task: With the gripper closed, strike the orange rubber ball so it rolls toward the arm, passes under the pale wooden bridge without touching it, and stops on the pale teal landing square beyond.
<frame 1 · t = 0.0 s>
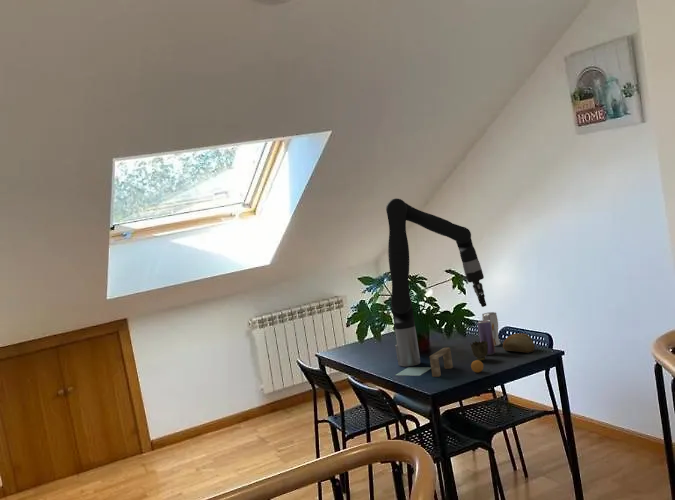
hand: (483, 304, 325), 22 cm above the table, tool pointing down, fingers open, 8 cm apart
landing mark: (413, 371, 316), on the table
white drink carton: (493, 345, 343), on the table
beverage can: (488, 354, 327), on the table
ball: (477, 366, 299), on the table
bridge: (442, 371, 308), on the table
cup: (481, 360, 317), on the table
bread roll: (519, 352, 323), on the table
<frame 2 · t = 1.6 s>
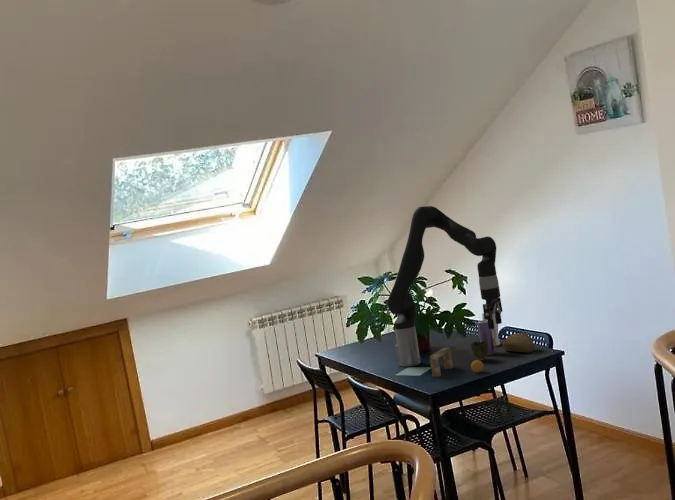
hand: (495, 326, 294), 19 cm above the table, tool pointing down, fingers open, 8 cm apart
nothing on the table moved.
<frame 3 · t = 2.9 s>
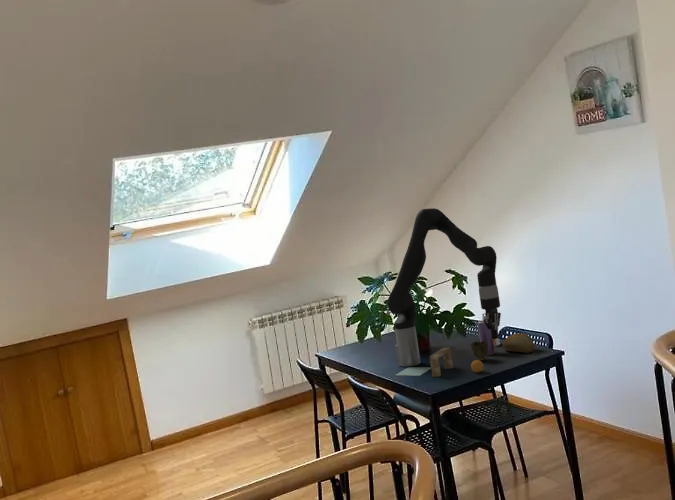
hand: (495, 338, 293), 14 cm above the table, tool pointing down, fingers closed
nothing on the table moved.
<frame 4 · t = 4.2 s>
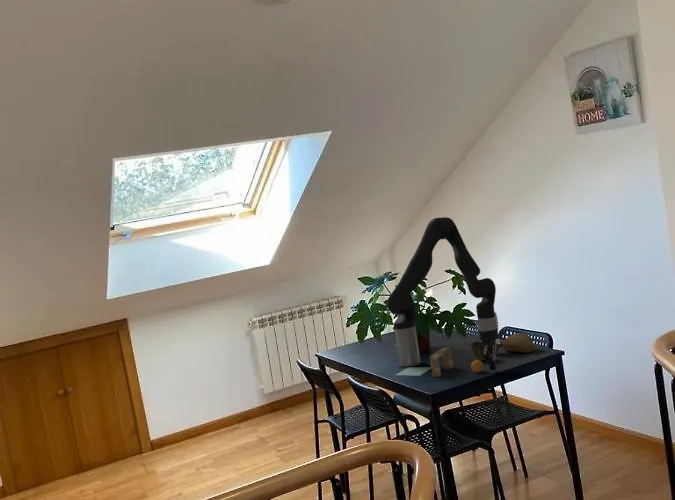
hand: (493, 369, 296), 1 cm above the table, tool pointing down, fingers closed
nothing on the table moved.
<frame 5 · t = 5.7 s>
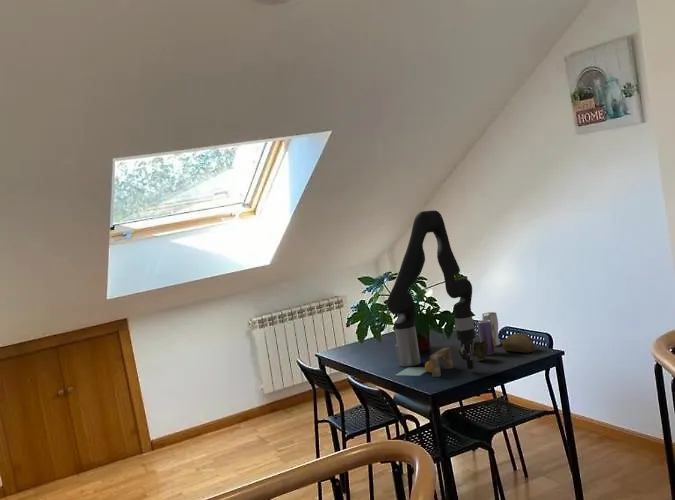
hand: (470, 368, 301), 2 cm above the table, tool pointing down, fingers closed
ball: (430, 366, 310), on the table
everything else where it was.
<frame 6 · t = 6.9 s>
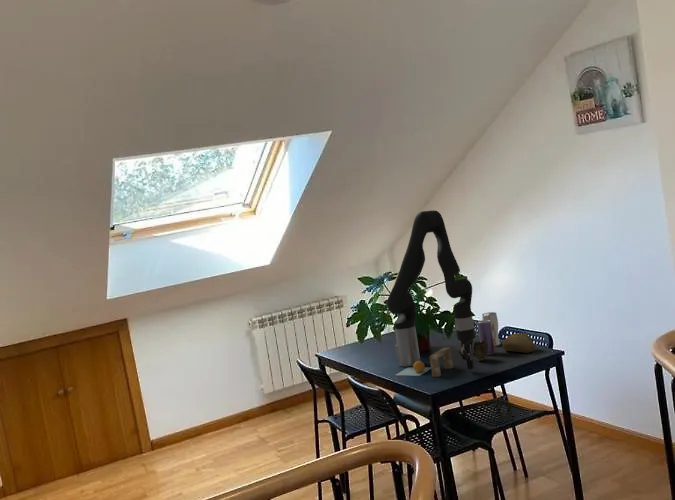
hand: (470, 368, 301), 2 cm above the table, tool pointing down, fingers closed
ball: (419, 366, 313), on the table
everything else where it was.
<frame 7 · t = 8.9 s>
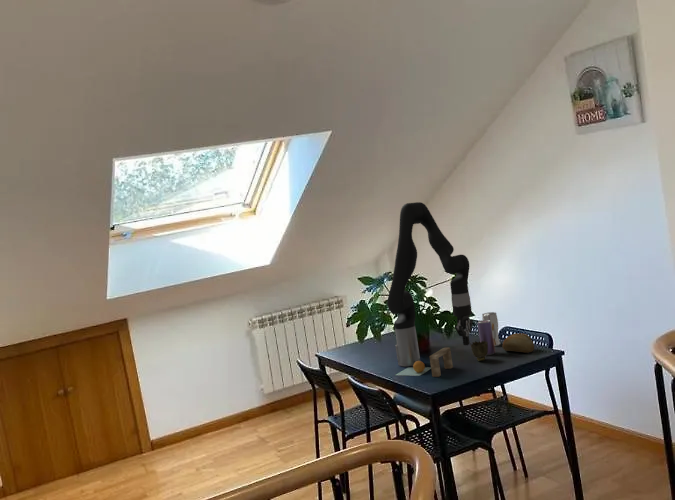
hand: (466, 344, 300), 12 cm above the table, tool pointing down, fingers closed
nothing on the table moved.
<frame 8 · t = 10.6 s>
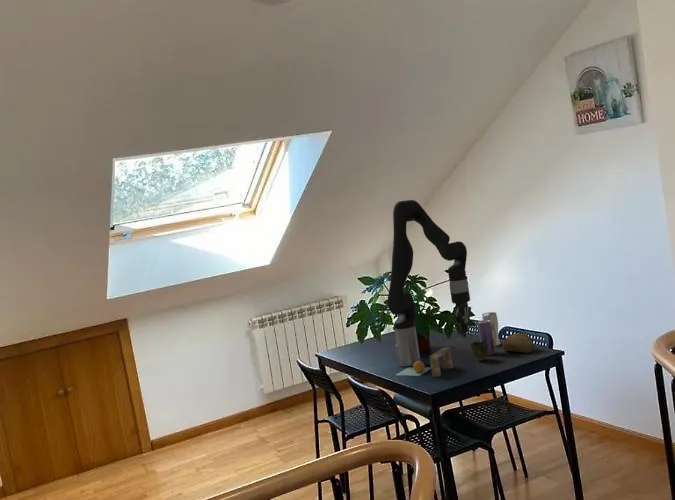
hand: (465, 331, 300), 17 cm above the table, tool pointing down, fingers closed
nothing on the table moved.
at the end: ball 3.5 cm from the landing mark (horizontally); ball never touched bridge; ball at rest at the end (0.0 cm/s) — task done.
